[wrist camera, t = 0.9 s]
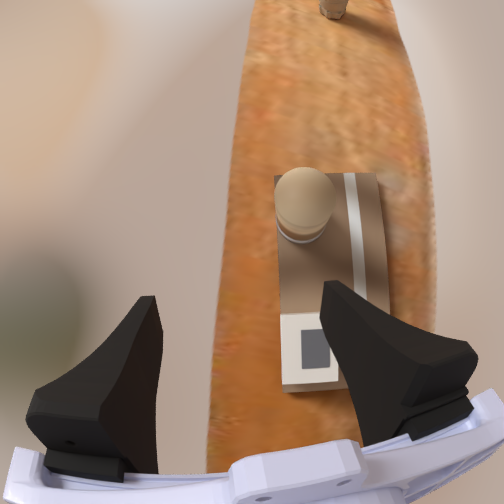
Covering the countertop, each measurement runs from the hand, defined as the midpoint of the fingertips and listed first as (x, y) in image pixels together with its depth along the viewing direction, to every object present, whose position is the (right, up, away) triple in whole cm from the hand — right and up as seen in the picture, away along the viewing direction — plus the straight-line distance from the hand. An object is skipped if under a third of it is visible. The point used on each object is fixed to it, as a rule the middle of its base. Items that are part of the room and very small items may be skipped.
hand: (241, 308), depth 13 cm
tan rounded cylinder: (+4, +5, +13) cm, 14 cm away
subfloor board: (+7, 0, +13) cm, 15 cm away
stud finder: (+5, -5, +11) cm, 13 cm away
